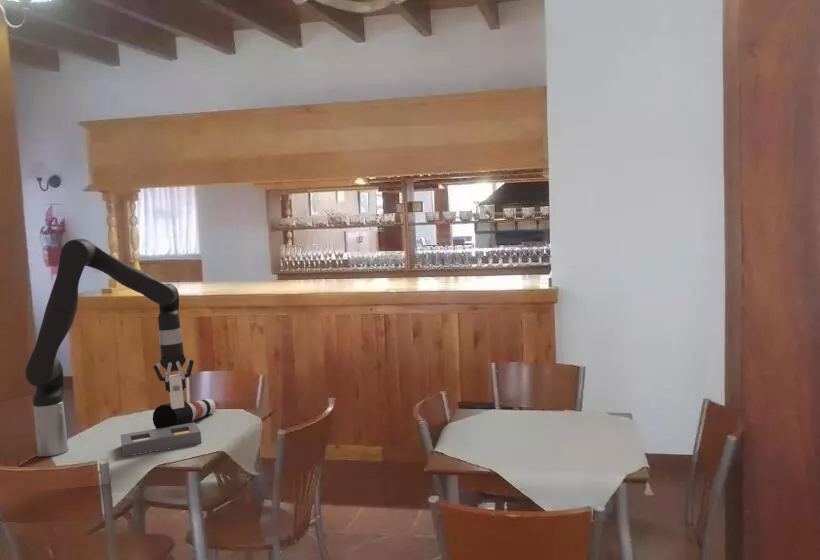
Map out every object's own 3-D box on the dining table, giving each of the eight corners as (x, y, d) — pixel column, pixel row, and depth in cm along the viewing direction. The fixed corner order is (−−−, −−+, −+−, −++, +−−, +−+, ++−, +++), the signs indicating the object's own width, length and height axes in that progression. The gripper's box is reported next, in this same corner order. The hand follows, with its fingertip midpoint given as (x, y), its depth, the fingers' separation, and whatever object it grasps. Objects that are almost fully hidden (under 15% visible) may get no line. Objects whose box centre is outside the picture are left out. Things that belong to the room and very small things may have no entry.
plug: (172, 409, 251) (169, 378, 250) (171, 406, 255) (167, 375, 255) (184, 407, 253) (181, 376, 252) (182, 404, 257) (179, 373, 256)
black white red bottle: (221, 421, 296) (230, 398, 295) (170, 438, 263) (180, 413, 262) (201, 409, 299) (210, 387, 297) (148, 424, 266) (158, 399, 265)
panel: (123, 457, 242) (122, 444, 241) (121, 446, 254) (120, 434, 254) (201, 443, 252) (200, 431, 251) (195, 433, 264) (194, 421, 264)
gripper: (150, 346, 246) (155, 396, 248) (193, 340, 252) (198, 389, 253) (148, 343, 253) (153, 392, 255) (190, 337, 259) (195, 385, 260)
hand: (176, 390), depth 254 cm, fingers closed on plug, 4 cm apart
